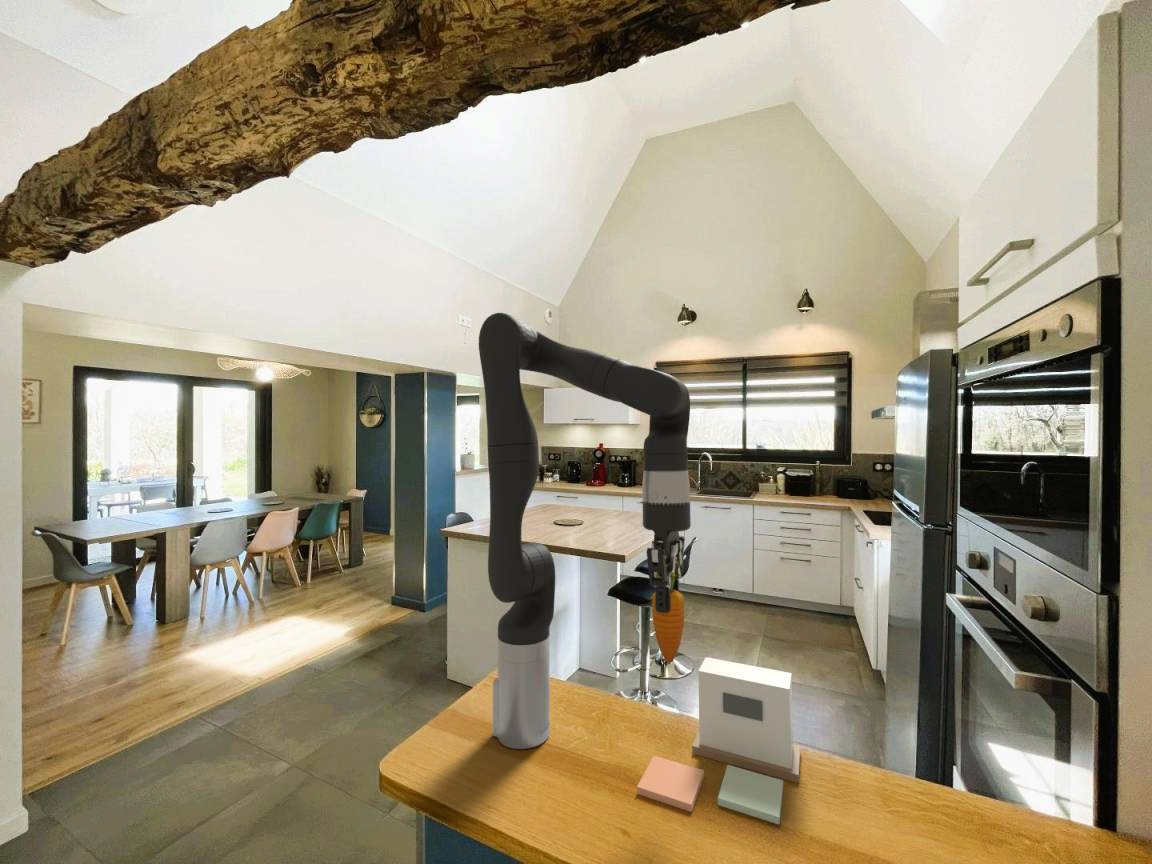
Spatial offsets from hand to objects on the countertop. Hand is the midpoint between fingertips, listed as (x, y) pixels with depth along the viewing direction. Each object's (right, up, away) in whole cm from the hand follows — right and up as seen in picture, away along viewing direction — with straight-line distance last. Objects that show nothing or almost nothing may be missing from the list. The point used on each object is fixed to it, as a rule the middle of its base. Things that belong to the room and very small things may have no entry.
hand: (667, 606), depth 75 cm
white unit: (+14, -26, +3) cm, 29 cm away
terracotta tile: (0, -25, -4) cm, 26 cm away
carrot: (0, -9, 0) cm, 9 cm away
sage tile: (+11, -25, -6) cm, 28 cm away
